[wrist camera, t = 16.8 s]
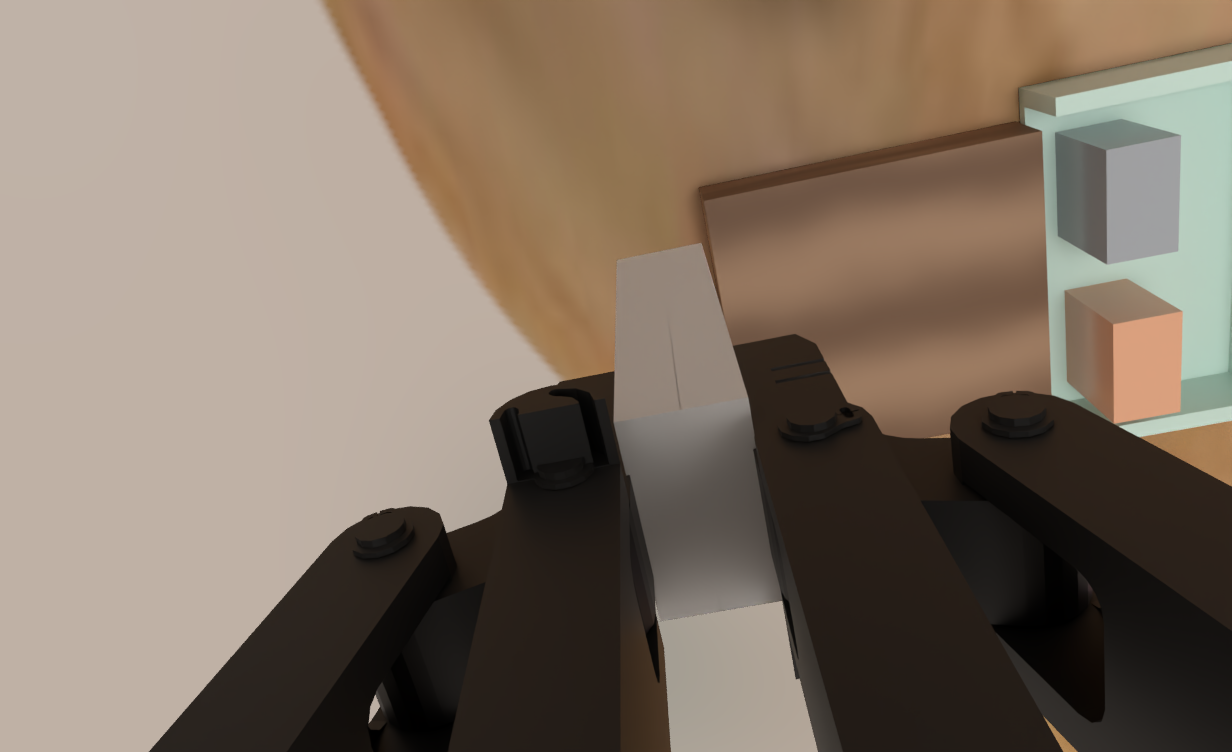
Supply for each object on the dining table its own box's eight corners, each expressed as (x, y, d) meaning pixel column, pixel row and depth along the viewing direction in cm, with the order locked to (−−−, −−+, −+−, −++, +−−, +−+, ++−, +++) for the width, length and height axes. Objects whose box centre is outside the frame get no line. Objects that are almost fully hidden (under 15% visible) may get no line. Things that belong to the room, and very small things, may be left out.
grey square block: (1106, 150, 39) (1181, 135, 39) (1054, 132, 43) (1121, 118, 43) (1107, 264, 41) (1178, 251, 40) (1057, 235, 45) (1121, 223, 45)
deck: (699, 187, 45) (703, 201, 42) (1015, 121, 44) (1042, 130, 41) (743, 442, 50) (751, 469, 48) (1028, 390, 49) (1052, 414, 46)
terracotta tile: (1113, 324, 42) (1182, 311, 42) (1064, 290, 46) (1126, 278, 46) (1113, 423, 44) (1180, 411, 43) (1066, 381, 48) (1126, 370, 48)
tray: (1018, 87, 43) (1055, 97, 40) (1252, 38, 42) (1312, 43, 39) (1033, 415, 50) (1066, 449, 46) (1236, 378, 49) (1286, 410, 45)
